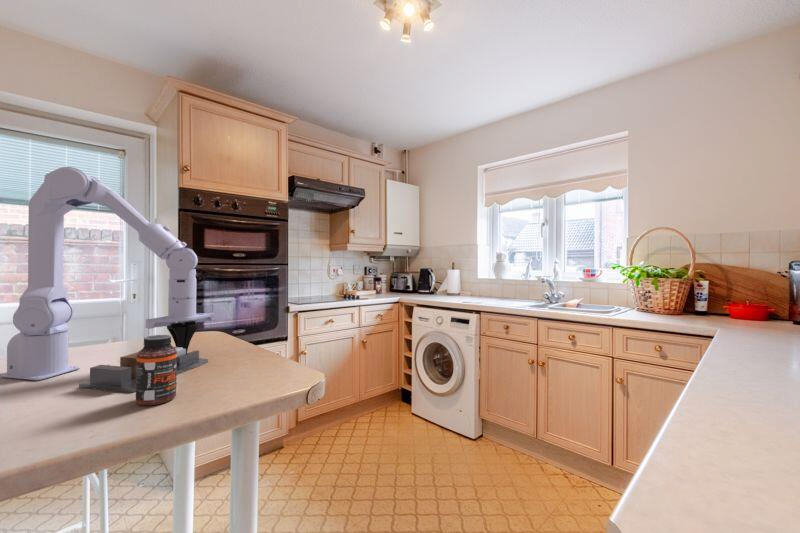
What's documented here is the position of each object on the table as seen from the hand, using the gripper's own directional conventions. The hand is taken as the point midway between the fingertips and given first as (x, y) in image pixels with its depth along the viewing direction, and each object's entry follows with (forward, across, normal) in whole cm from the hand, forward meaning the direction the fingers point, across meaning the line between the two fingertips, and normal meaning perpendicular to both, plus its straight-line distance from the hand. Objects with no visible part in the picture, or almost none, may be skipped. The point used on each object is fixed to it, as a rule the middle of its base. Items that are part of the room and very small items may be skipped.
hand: (182, 353), depth 84 cm
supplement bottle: (+2, +12, +21) cm, 25 cm away
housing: (+1, +10, +5) cm, 12 cm away
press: (+2, +8, +4) cm, 9 cm away
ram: (+1, +4, +2) cm, 4 cm away
